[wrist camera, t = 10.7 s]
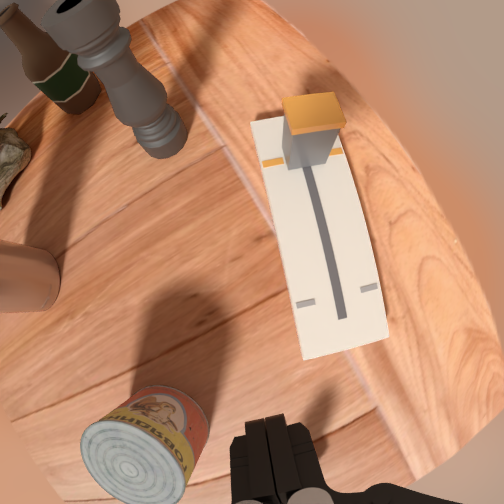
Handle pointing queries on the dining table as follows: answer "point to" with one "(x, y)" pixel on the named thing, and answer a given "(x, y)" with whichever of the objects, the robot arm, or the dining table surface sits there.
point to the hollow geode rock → (11, 156)
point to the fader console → (322, 247)
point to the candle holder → (117, 71)
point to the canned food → (146, 446)
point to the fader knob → (310, 128)
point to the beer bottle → (50, 64)
